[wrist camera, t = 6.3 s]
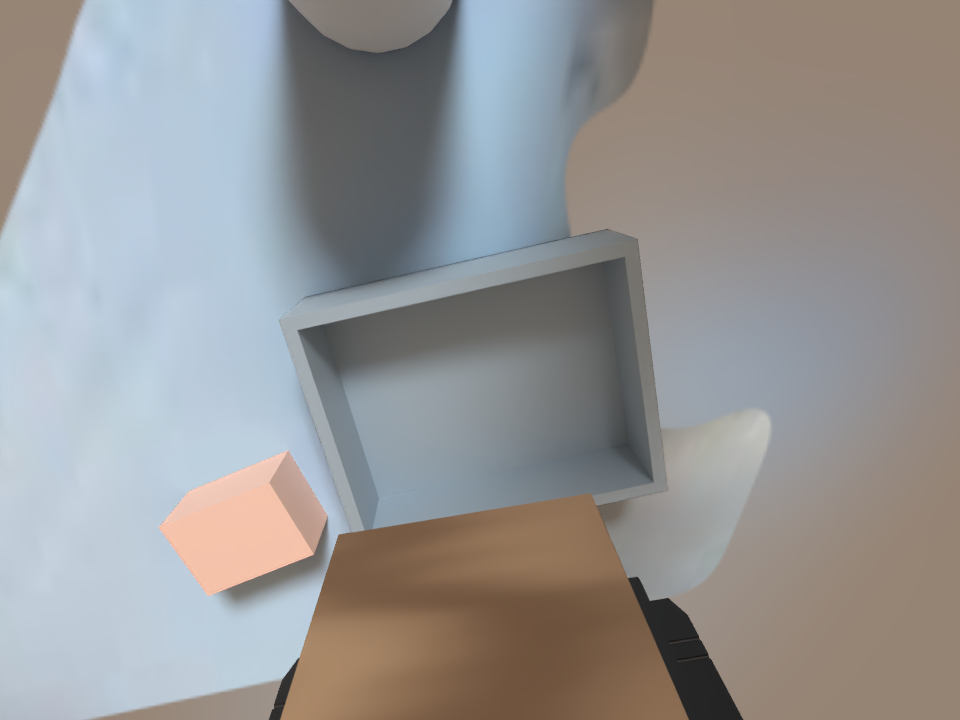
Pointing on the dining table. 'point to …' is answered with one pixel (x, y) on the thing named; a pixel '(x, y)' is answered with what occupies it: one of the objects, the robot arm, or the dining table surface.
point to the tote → (485, 383)
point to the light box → (246, 524)
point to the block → (482, 624)
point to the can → (373, 21)
